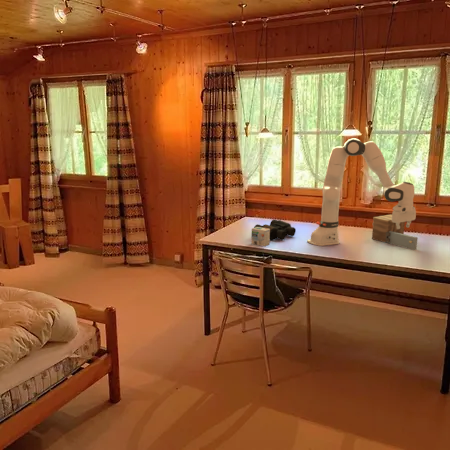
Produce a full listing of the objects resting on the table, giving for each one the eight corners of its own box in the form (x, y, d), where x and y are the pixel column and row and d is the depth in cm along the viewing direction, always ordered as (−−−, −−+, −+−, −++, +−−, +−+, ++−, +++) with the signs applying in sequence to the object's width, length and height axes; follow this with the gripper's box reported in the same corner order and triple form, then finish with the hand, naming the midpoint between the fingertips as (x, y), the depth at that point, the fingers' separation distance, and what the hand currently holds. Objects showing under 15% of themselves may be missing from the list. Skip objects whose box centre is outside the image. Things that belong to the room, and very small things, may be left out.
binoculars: (275, 230, 333) (276, 217, 330) (298, 236, 321) (300, 223, 318) (252, 237, 312) (253, 223, 309) (276, 244, 299) (277, 230, 296)
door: (416, 249, 283) (417, 237, 281) (412, 250, 281) (414, 238, 279) (390, 242, 300) (391, 231, 298) (386, 243, 298) (387, 231, 296)
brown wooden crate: (388, 243, 296) (390, 221, 293) (370, 238, 309) (372, 217, 305) (407, 239, 307) (409, 218, 303) (389, 234, 319) (390, 214, 315)
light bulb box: (250, 244, 296) (251, 228, 294) (256, 241, 302) (256, 226, 299) (264, 246, 290) (265, 230, 288) (269, 244, 296) (270, 228, 293)
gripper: (411, 205, 293) (408, 225, 296) (391, 207, 282) (388, 228, 285) (419, 206, 288) (417, 227, 291) (399, 209, 277) (397, 230, 280)
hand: (402, 228), depth 288 cm, fingers open, 8 cm apart
